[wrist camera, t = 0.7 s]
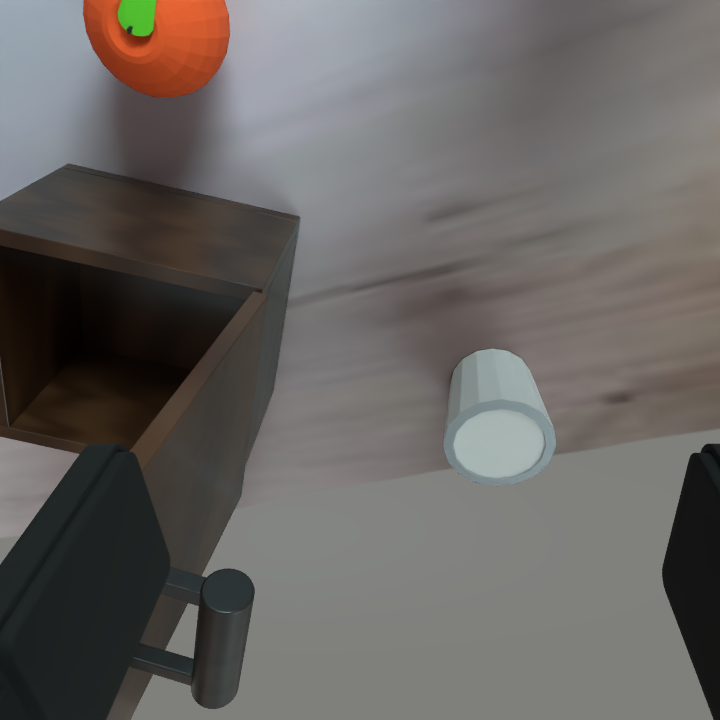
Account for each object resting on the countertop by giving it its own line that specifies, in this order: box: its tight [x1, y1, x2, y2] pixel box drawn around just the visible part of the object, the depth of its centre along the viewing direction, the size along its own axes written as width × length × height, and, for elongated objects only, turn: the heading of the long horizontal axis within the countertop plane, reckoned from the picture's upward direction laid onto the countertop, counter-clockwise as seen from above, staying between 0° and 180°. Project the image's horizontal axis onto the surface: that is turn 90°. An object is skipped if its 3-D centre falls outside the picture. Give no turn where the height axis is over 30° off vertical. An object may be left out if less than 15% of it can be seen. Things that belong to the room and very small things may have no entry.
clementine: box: [83, 0, 230, 98], centre depth 31 cm, size 8×7×7 cm
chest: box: [0, 164, 300, 465], centre depth 39 cm, size 15×14×10 cm
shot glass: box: [443, 348, 556, 486], centre depth 42 cm, size 7×7×7 cm
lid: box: [106, 292, 268, 720], centre depth 28 cm, size 16×14×5 cm
